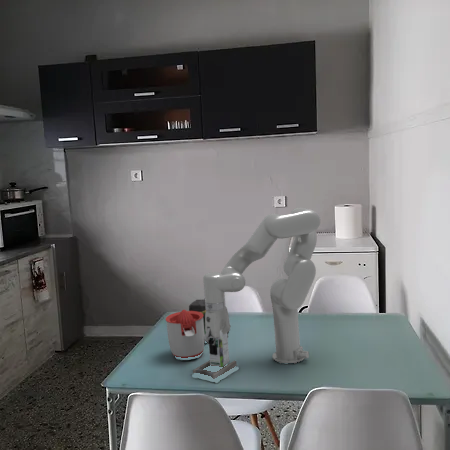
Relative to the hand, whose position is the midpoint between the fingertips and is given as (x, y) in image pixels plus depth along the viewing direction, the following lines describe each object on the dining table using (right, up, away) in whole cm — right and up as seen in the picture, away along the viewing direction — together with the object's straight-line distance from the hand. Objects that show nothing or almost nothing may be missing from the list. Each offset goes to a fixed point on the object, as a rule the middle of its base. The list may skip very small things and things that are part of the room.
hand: (219, 350), depth 195 cm
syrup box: (0, -5, +1) cm, 5 cm away
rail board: (-1, -8, -2) cm, 8 cm away
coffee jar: (-8, -4, +33) cm, 34 cm away
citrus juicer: (-13, -7, +16) cm, 22 cm away
